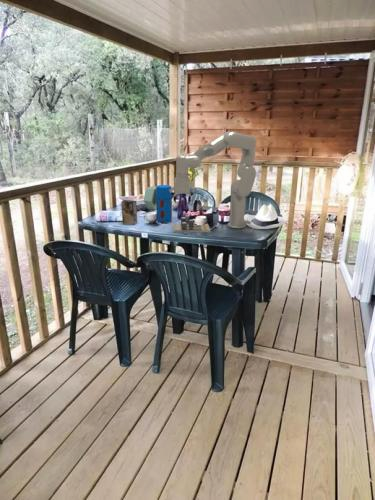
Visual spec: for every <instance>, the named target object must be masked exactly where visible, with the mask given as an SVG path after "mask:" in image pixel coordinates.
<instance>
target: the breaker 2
mask: <svg viewBox="0 0 375 500" xmlns="http://www.w3.org/2000/svg"><path fill="white" fill-rule="evenodd" d="M182 229H187V222H182Z"/></svg>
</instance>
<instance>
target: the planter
mask: <svg viewBox="0 0 375 500" xmlns="http://www.w3.org/2000/svg"><path fill="white" fill-rule="evenodd" d="M156 186H157V185H156ZM156 186H155V185H153V186H147V187H146V188H145V191H144V197H143V202H144V205H145V207H146V208H147V210H151V211H157V205H156Z"/></svg>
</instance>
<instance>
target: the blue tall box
mask: <svg viewBox="0 0 375 500" xmlns="http://www.w3.org/2000/svg"><path fill="white" fill-rule="evenodd" d="M171 188H172V185H169V184H159V185H156V205H157V210H156V222H157V223H159V224H168V223H171V222H172V219H173V205H172V203H173V195H172V194H171V193H170V191H169V190H170V189H171Z"/></svg>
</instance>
